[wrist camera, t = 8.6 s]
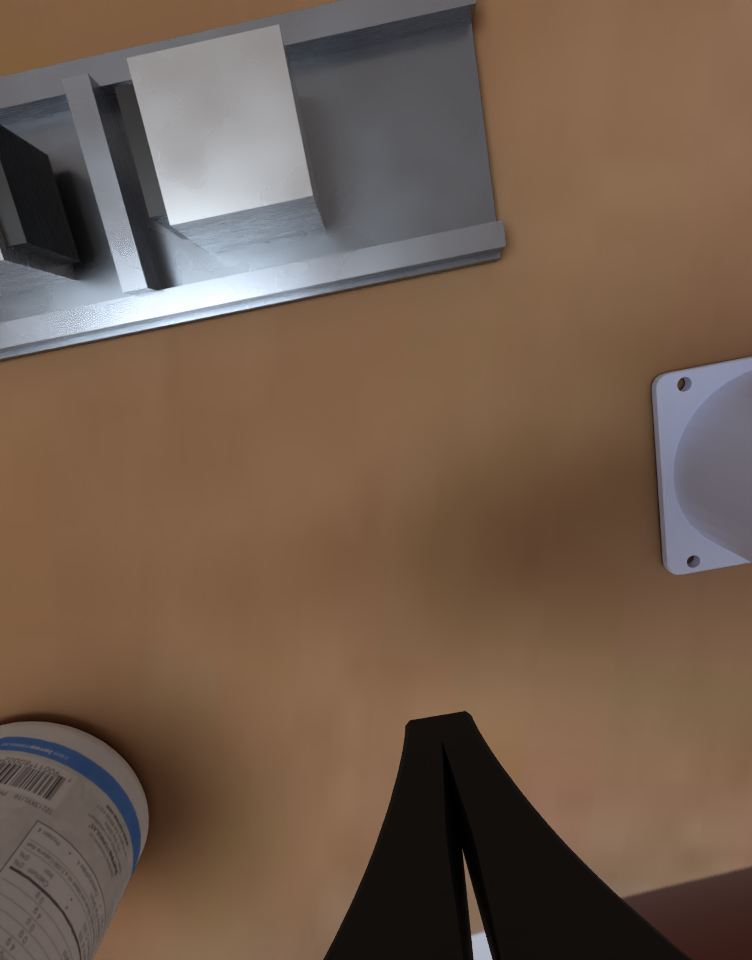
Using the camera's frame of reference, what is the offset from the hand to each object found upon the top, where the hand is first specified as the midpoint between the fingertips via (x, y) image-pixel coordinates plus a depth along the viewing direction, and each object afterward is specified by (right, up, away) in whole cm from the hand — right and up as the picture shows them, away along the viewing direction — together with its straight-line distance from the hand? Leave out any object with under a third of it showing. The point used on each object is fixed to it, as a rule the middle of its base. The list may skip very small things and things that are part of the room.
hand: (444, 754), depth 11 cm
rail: (-8, +16, +7) cm, 19 cm away
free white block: (-5, +16, +6) cm, 18 cm away
